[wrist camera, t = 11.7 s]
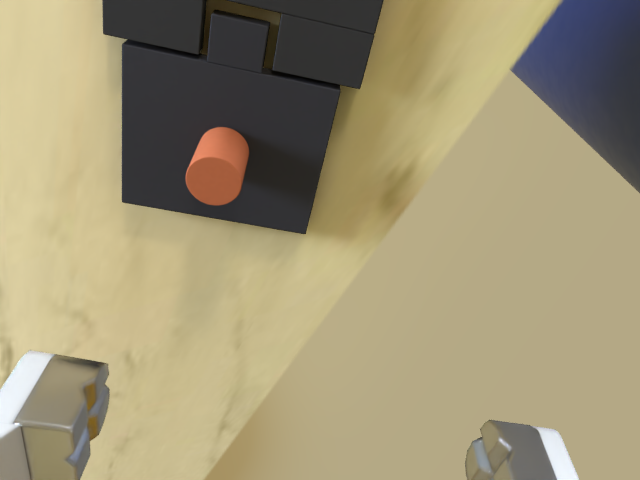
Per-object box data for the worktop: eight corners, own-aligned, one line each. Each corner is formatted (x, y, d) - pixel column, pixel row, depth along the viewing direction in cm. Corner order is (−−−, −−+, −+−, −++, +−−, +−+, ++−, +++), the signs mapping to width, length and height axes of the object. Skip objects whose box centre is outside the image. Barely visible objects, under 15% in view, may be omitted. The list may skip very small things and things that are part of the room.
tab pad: (350, 39, 29) (357, 67, 24) (305, 225, 36) (304, 271, 31) (128, -11, 27) (93, 9, 23) (127, 193, 34) (100, 238, 30)
